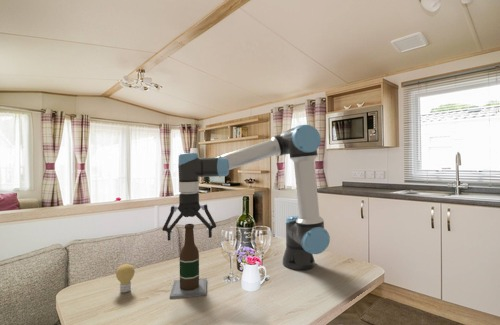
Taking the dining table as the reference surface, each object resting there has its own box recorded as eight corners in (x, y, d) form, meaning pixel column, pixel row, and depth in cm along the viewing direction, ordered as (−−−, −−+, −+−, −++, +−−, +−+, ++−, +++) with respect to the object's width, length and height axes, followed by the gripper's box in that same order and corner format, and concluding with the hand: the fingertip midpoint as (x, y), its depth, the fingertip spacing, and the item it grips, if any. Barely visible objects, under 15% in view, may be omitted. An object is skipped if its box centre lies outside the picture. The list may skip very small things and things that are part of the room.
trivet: (206, 280, 109) (206, 278, 109) (206, 295, 96) (206, 293, 96) (174, 282, 107) (174, 280, 107) (169, 298, 94) (169, 295, 94)
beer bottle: (194, 292, 97) (194, 227, 97) (175, 290, 99) (175, 226, 99) (202, 282, 105) (202, 222, 105) (184, 281, 106) (184, 221, 107)
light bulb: (131, 285, 105) (130, 260, 105) (137, 291, 100) (137, 264, 100) (113, 291, 100) (113, 264, 100) (119, 297, 96) (119, 269, 96)
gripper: (220, 190, 108) (222, 242, 108) (157, 192, 104) (158, 246, 104) (221, 192, 100) (223, 247, 100) (153, 195, 97) (154, 252, 96)
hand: (190, 247), depth 102 cm, fingers open, 13 cm apart
